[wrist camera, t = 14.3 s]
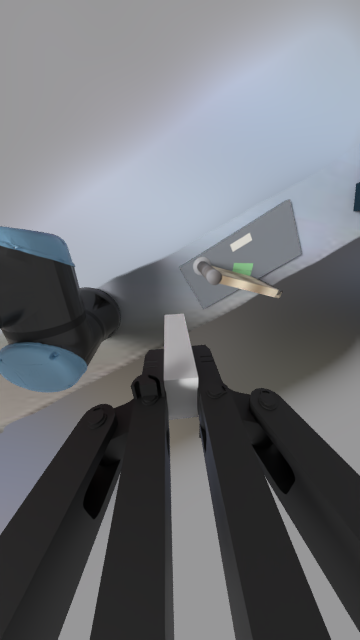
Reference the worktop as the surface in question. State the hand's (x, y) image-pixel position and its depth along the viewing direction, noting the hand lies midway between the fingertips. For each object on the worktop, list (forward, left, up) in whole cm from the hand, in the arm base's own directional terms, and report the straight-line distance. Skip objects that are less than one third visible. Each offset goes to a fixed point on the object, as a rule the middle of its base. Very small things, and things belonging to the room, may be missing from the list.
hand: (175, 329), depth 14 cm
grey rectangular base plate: (+18, 0, -32) cm, 37 cm away
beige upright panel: (+14, -3, -30) cm, 34 cm away
